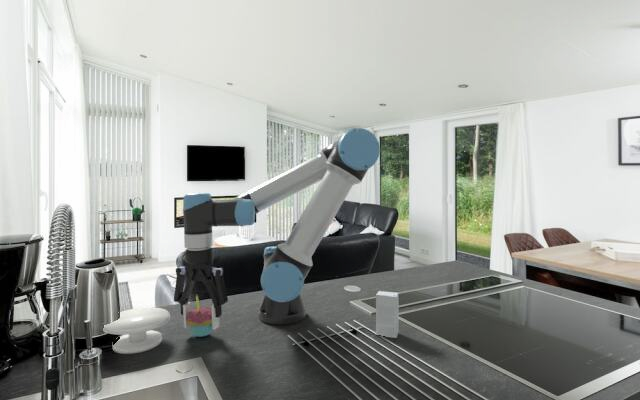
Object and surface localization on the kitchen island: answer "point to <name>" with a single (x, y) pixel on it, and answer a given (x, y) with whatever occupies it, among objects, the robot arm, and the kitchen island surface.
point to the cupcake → (200, 320)
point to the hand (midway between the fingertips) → (201, 326)
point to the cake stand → (138, 329)
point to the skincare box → (387, 314)
